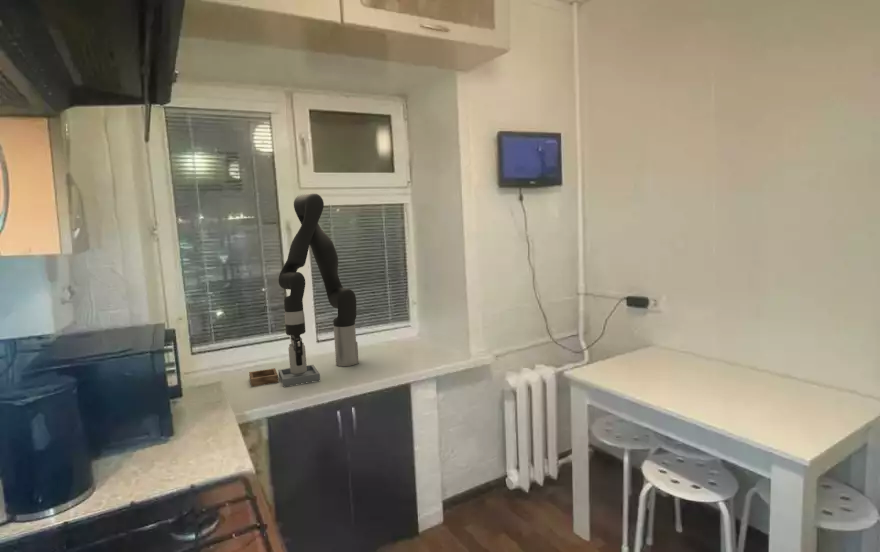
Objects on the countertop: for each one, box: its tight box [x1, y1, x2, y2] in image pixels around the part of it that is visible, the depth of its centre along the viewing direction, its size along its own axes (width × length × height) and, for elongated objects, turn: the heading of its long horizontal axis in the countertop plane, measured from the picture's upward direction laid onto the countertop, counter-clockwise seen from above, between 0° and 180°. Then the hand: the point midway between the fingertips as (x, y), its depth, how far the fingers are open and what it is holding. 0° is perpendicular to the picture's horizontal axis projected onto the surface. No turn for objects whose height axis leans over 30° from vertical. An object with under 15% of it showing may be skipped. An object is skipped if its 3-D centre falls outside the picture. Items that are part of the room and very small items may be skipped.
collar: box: [248, 367, 279, 387], centre depth 204 cm, size 10×10×3 cm
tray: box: [278, 364, 321, 388], centre depth 205 cm, size 14×14×3 cm
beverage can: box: [288, 342, 307, 375], centre depth 204 cm, size 6×6×12 cm
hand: (298, 363), depth 204 cm, fingers closed on beverage can, 5 cm apart
